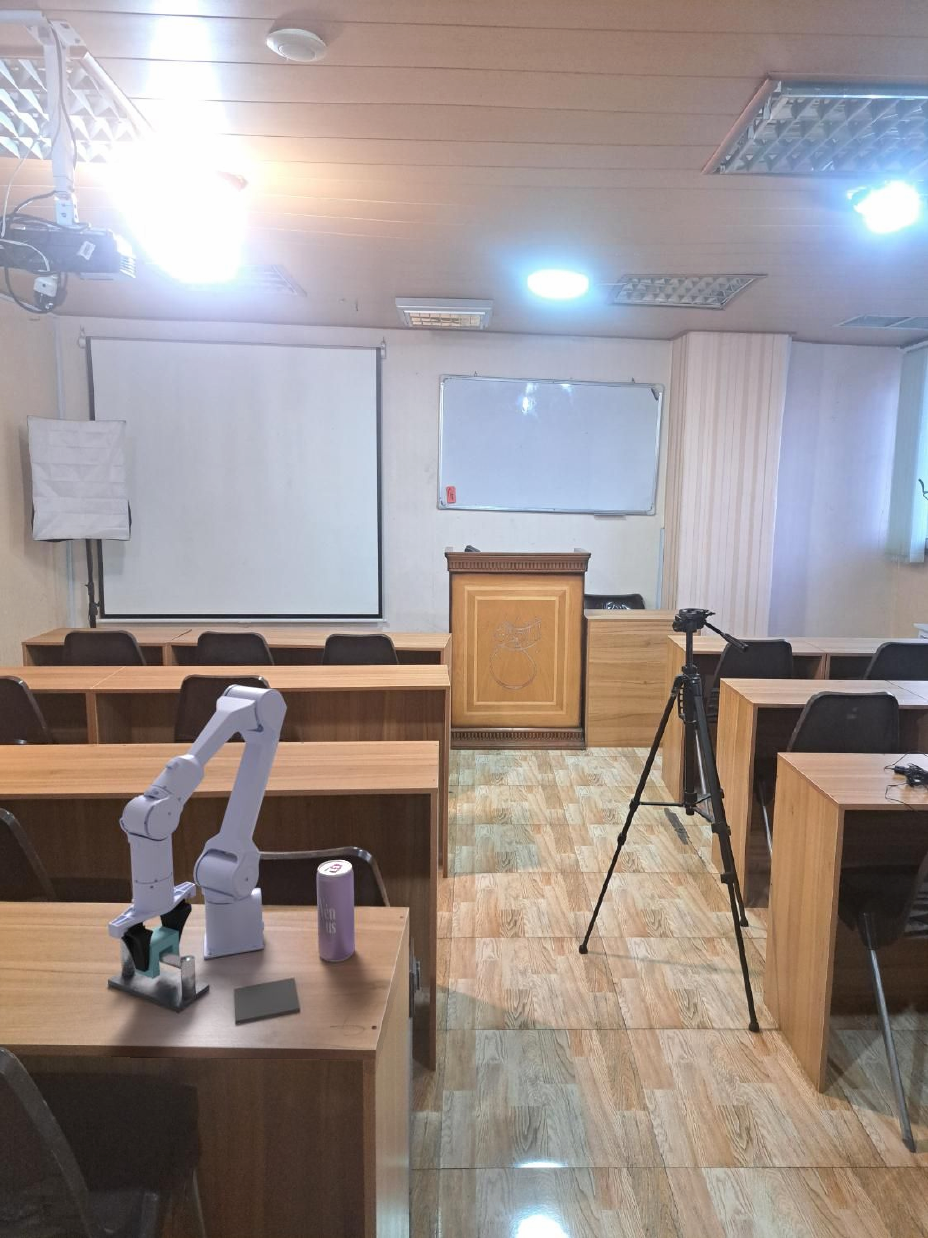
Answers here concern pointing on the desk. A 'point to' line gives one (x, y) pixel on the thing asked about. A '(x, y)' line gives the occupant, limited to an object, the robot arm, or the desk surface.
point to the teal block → (160, 948)
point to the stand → (161, 981)
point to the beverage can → (335, 910)
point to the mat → (265, 1000)
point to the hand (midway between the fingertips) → (157, 960)
